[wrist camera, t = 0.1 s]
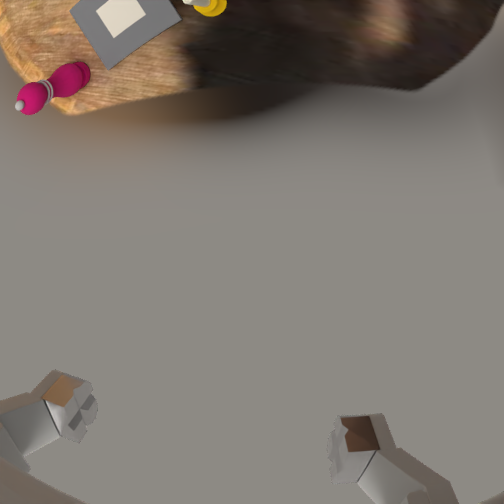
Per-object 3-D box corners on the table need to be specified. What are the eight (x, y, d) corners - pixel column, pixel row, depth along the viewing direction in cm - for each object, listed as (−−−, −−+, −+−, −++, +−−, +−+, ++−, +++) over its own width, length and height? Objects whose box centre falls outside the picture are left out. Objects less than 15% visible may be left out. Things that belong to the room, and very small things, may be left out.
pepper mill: (75, 53, 44) (10, 80, 30) (97, 69, 47) (35, 100, 33) (61, 79, 48) (-1, 113, 34) (82, 95, 51) (23, 133, 37)
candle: (193, 12, 40) (161, 11, 29) (203, -12, 36) (174, -22, 25) (220, 19, 41) (197, 19, 30) (231, -5, 37) (212, -14, 26)
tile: (71, 10, 37) (68, 10, 36) (139, -45, 30) (137, -46, 30) (109, 69, 48) (107, 70, 47) (182, 19, 41) (181, 19, 40)
